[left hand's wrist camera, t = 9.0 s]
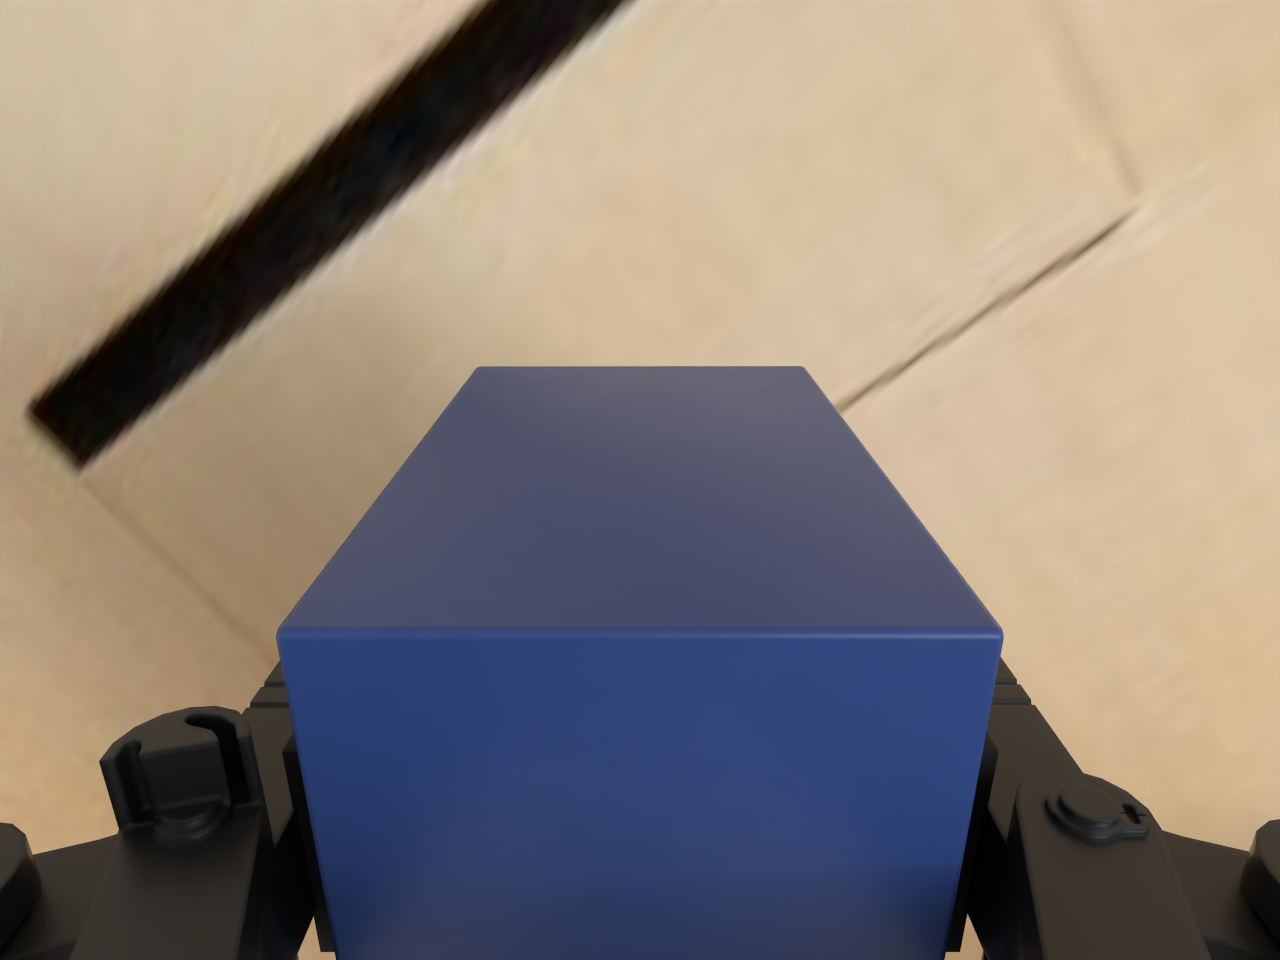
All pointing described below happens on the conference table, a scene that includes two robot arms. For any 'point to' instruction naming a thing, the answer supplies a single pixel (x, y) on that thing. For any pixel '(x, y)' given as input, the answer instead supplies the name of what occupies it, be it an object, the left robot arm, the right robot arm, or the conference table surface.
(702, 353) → the conference table surface
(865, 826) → the bar
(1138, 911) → the left robot arm
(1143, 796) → the conference table surface
